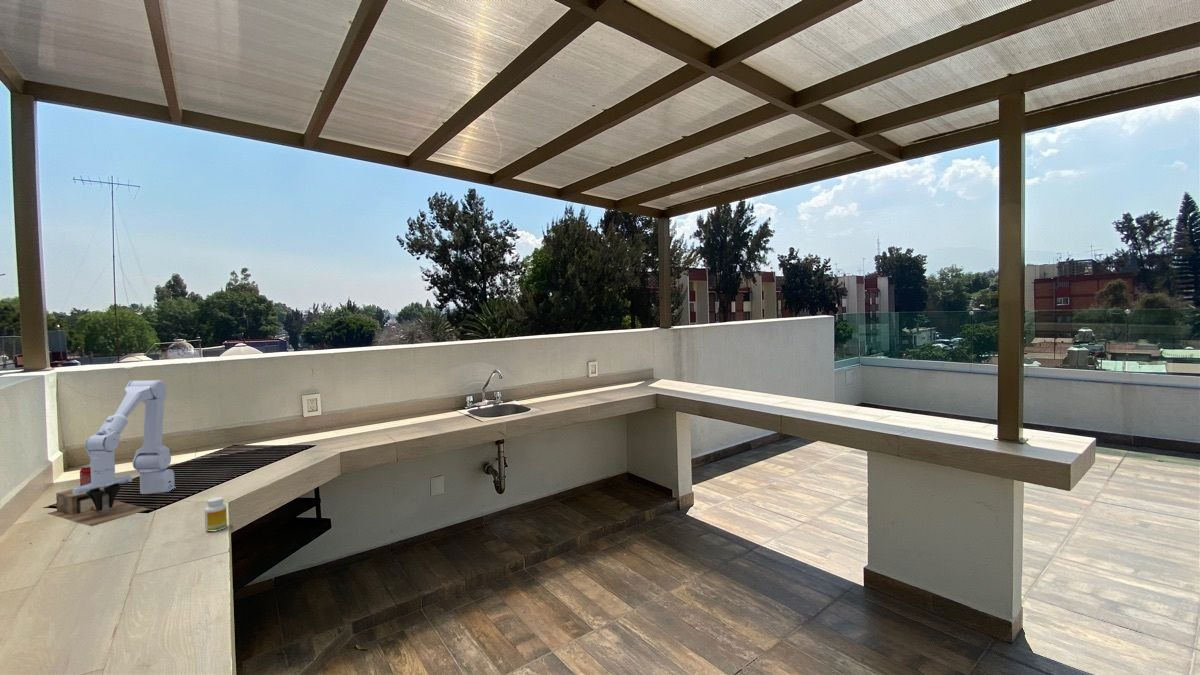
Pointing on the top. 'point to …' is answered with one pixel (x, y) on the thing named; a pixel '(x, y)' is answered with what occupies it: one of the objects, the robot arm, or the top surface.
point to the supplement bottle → (215, 514)
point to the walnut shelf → (91, 517)
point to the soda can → (85, 475)
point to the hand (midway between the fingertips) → (104, 508)
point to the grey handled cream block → (92, 504)
